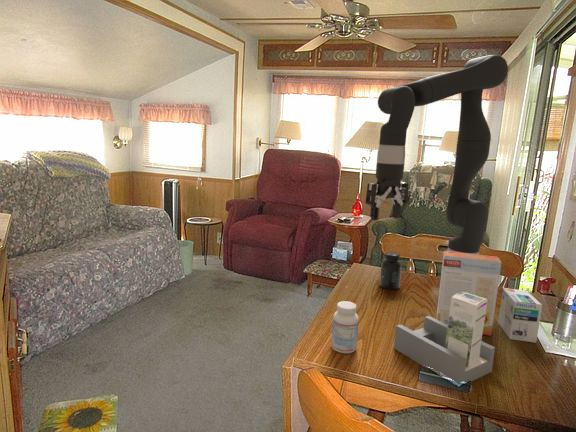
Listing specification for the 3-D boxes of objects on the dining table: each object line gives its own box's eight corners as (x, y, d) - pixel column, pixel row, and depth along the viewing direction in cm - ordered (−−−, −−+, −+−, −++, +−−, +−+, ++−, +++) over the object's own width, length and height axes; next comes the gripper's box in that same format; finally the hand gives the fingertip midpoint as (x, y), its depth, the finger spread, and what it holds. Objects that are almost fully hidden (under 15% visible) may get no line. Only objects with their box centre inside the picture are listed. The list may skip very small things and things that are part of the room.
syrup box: (479, 359, 89) (488, 297, 86) (468, 368, 85) (477, 304, 82) (454, 348, 93) (462, 289, 90) (442, 357, 89) (450, 295, 86)
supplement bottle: (376, 283, 143) (379, 251, 141) (393, 282, 145) (396, 250, 142) (385, 290, 136) (388, 256, 134) (403, 289, 138) (406, 256, 136)
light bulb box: (536, 343, 104) (543, 304, 102) (508, 340, 105) (515, 301, 103) (522, 325, 114) (528, 289, 112) (496, 322, 116) (502, 287, 114)
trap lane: (425, 337, 105) (428, 315, 104) (491, 371, 90) (495, 347, 89) (393, 348, 98) (396, 325, 97) (458, 387, 84) (462, 361, 82)
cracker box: (488, 327, 112) (499, 255, 108) (491, 337, 106) (502, 261, 102) (435, 318, 116) (443, 249, 112) (435, 327, 111) (444, 254, 107)
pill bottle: (338, 339, 102) (341, 297, 100) (360, 347, 98) (364, 304, 96) (326, 348, 97) (329, 305, 95) (349, 357, 93) (352, 312, 91)
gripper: (382, 162, 104) (376, 223, 107) (418, 163, 112) (412, 219, 115) (362, 160, 110) (357, 218, 114) (398, 161, 118) (392, 214, 121)
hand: (385, 218), depth 114 cm, fingers open, 8 cm apart
